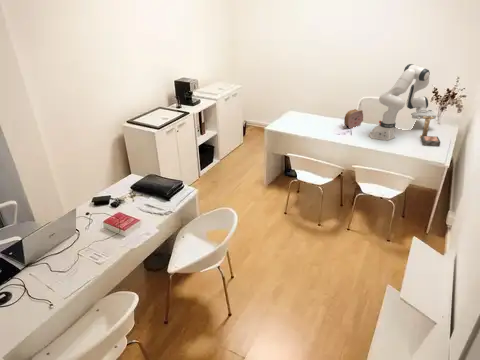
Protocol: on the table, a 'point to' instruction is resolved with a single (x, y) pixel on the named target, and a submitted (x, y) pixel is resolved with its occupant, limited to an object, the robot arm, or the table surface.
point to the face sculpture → (353, 118)
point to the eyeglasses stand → (426, 126)
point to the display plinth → (430, 141)
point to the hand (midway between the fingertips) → (424, 118)
